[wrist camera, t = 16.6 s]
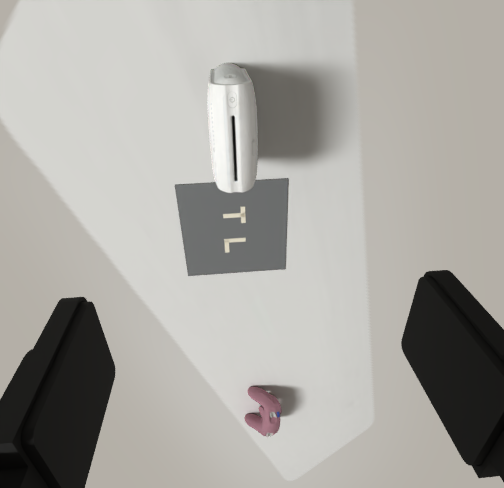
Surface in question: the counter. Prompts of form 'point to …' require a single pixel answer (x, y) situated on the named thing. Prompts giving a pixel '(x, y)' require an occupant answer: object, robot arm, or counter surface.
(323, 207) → the counter surface
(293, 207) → the counter surface
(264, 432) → the video game controller
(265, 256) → the dark gray panel
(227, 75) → the photo printer
